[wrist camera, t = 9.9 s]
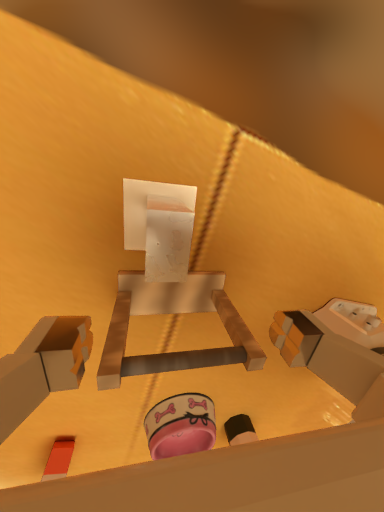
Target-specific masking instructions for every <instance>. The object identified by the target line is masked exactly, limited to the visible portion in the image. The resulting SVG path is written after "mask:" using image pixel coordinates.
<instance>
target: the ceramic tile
mask: <svg viewBox="0 0 384 512" xmlns="http://www.w3.org/2000/svg"><path fill="white" fill-rule="evenodd" d="M196 192H197V187H196V186H187V185H179V184H170V183H162V182H153V181H145V180H136V179H128V178H123V197H124V249H125V250H146V224H147V195H157V196H167V197H176V198H178V199H179V200H180V201H181V202H182V203H183V204H185V205H186V206H187V207H188V208H189V209H191V210H192V211H193V212H194V209H195V201H196Z"/></svg>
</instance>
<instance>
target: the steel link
mask: <svg viewBox="0 0 384 512" xmlns="http://www.w3.org/2000/svg"><path fill="white" fill-rule="evenodd" d="M194 216H195V213H194V212H193V211H192V210H191V209H189V208H188V207H187V206H186V205H185V204H183V203H182V202H181V201H180V200H179V199H178V198H176V197H167V196H157V195H147V224H146V259H145V282H186V281H187V273H188V265H189V257H190V249H191V240H192V232H193V224H194Z"/></svg>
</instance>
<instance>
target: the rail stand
mask: <svg viewBox="0 0 384 512" xmlns="http://www.w3.org/2000/svg"><path fill="white" fill-rule="evenodd" d="M225 277H226V274H225V273H224V272H193V271H188V273H187V281H186V282H145V271H119V272H118V295H117V299H116V303H115V306H114V310H113V314H112V318H111V322H110V326H109V330H108V334H107V338H106V342H105V345H104V349H103V353H102V357H101V361H100V365H99V369H98V373H97V386H98V391H99V390H107V389H115V388H120V384H121V377H126V376H134V375H143V374H151V373H160V372H168V371H177V370H186V369H194V368H203V367H211V366H220V365H228V364H237V363H243V364H244V366H245V368H246V370H247V371H253V370H261V369H263V366H264V363H265V361H266V358H267V357H266V355H265V354H264V352H263V351H262V349H261V348H260V346H259V345H258V343H257V341H256V340H255V338H254V337H253V335H252V334H251V332H250V331H249V329H248V327H247V326H246V324H245V323H244V321H243V320H242V318H241V317H240V315H239V314H238V312H237V310H236V309H235V307H234V306H233V304H232V303H231V301H230V300H229V298H228V296H227V295H226V293H225V292H224V290H223V286H224V281H225ZM195 312H218V314H219V316H220V318H221V320H222V322H223V324H224V326H225V328H226V330H227V332H228V334H229V336H230V338H231V340H232V342H233V344H234V346H235V347H225V348H215V349H204V350H193V351H183V352H172V353H162V354H151V355H140V356H130V357H124V354H125V346H126V339H127V331H128V324H129V316H130V315H152V314H174V313H195Z"/></svg>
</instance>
